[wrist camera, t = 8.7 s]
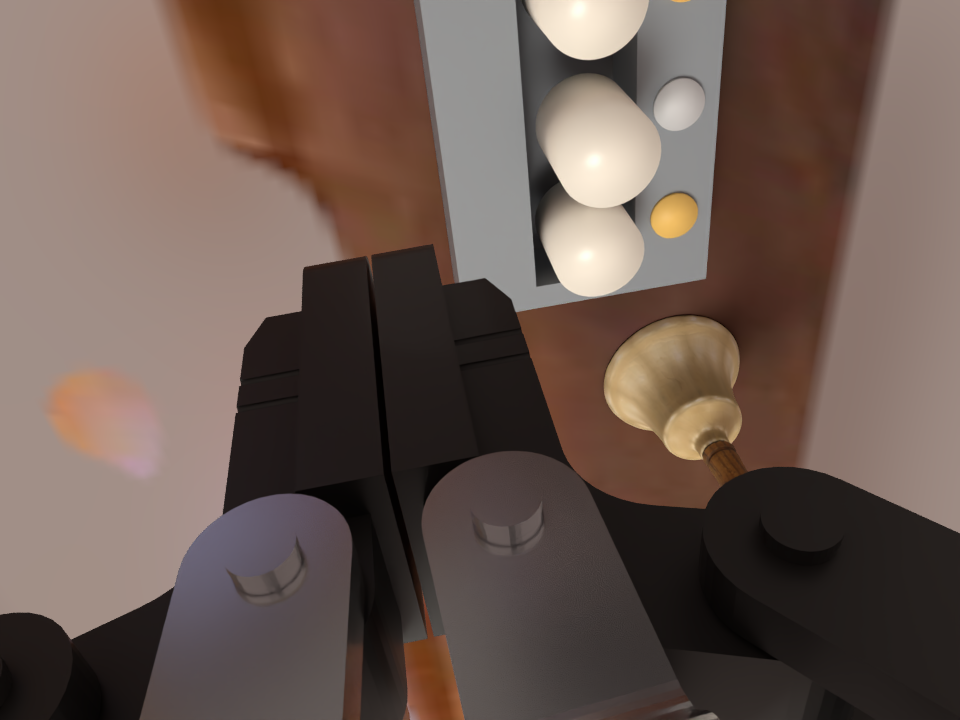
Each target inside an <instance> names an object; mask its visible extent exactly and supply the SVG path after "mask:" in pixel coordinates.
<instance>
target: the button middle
mask: <svg viewBox="0 0 960 720" xmlns="http://www.w3.org/2000/svg"><path fill="white" fill-rule="evenodd" d="M536 136H537V139H538V142H539V145H540V147H541V149H542V150H543V152H544V154H545V156H546V157H547V159H548V161H549V163H550V164H551V166H552V168H553V170H554V171H555V173H556V175H557V177H558V178H559V180H560V182H561V184H562V185H563V187H564V189H565V190H566V192H567V193H568V194H569V195H570V196H571V197H572V198H573V199H574V200H576V201H578V202H579V203H581V204H583V205H586V206H589V207H595V208H608V207H614V206H617V205H620V204H623V203H625V202H627V201H629V200H631V199H632V198H634V197H636V196H637V195H638V194H639V193H641V192H642V191H643V190H644V189H645V188H646V186H647V185H648V184H649V183H650V181H651V180H652V178H653V177H654V175H655V173H656V171H657V168H658V166H659V162H660V158H661V141H660V137H659V134H658V131H657V129H656V127H655V125H654V124H653V123H652V121H651V120H650V119H649V118H648V117H647V116H646V115H645V114H644V113H643V111H642V110H641V109H640V108H639V107H638V106H637V105H636V104H635V103H634V102H633V101H632V100H631V98H630V97H629V96H628V95H627V94H626V93H625V92H624V91H623V90H622V89H621V88H620V87H619V86H618V85H617V84H616V83H615V82H614V81H613V80H611V79H610V78H608V77H606V76H603V75H600V74H595V73H583V74H577V75H574V76H571V77H568V78H566V79H565V80H563V81H561V82H560V83H558V84H557V85H556V86H555V87H553V88H552V89H551V90H550V92H549V93H548V94H547V95H546V97H545V98H544V99H543V101H542V103H541V105H540V108H539V110H538V113H537V117H536Z"/></svg>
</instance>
